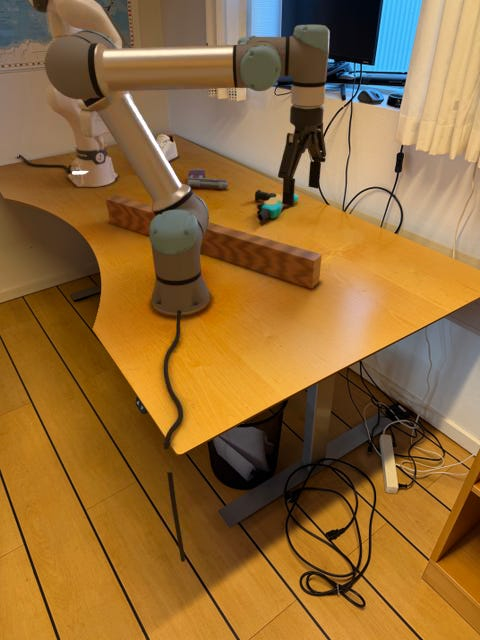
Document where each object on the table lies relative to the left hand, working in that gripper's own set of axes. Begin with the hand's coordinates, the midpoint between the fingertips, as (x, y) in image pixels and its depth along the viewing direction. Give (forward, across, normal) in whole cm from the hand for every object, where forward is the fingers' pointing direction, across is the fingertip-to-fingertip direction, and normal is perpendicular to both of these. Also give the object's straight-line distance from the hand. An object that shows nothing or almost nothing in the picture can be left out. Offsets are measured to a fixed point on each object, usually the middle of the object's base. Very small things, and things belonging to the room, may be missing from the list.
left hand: (114, 145), depth 149 cm
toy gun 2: (+27, -37, +34) cm, 57 cm away
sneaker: (+27, -55, -35) cm, 71 cm away
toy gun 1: (+27, -47, 0) cm, 54 cm away
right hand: (+2, 0, +66) cm, 66 cm away
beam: (+27, 0, +33) cm, 43 cm away
